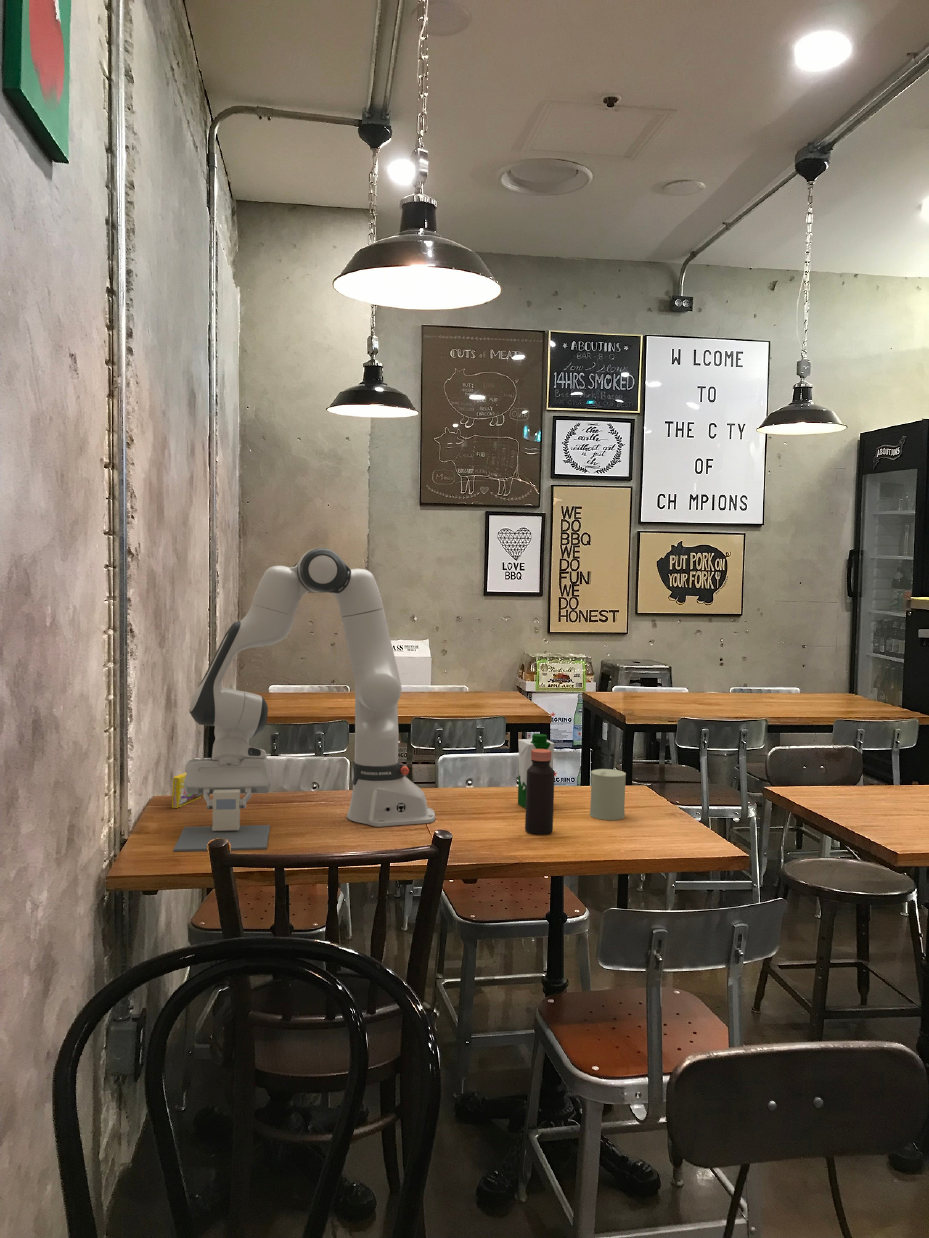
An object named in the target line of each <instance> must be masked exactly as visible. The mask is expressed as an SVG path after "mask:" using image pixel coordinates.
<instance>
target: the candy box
mask: <svg viewBox="0 0 929 1238" xmlns="http://www.w3.org/2000/svg"><path fill="white" fill-rule="evenodd" d="M185 777H186V772H183V773H179V774H178V775H175V776H173V778H172V793H171V807H172V808H171V809H175V808H177V809H179V808H178V807H180V808H182V807H184V806H186V805H188V804H190V803H192V802H194V801H197V800H199V799H202V797H200V796H203V794H187V792H186V791H185V788H184V782H185ZM203 797H204V796H203ZM183 805H184V806H183ZM181 806H182V807H181Z"/></svg>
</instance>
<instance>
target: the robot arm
mask: <svg viewBox="0 0 929 1238" xmlns="http://www.w3.org/2000/svg"><path fill="white" fill-rule="evenodd" d="M308 593H310V594H311V593H312V594H313V593H316V594H323V593H329V594H330V593H331V594H332V595H333V596H334V597H335V599H336V602H337V604H338V608H339V614H340V619H341V623H342V628H343V633H344V638H345V642H346V647H347V651H348V656H349V661H350V665H351V666H350V667H351V671H352V676H353V680H354V684H355V685H354V686H355V687H354V690H355V691H354V723H355V724H354V730H355V731H354V761H353V762H352V767H351V782H352V792H351V798H350V799H351V800H350V803H349V804H350V805H349V808H348V811H347V814H346V818H347V819H348V820H349V821H352V822H355V823H359V824H365V825H368V826H372V827H392V826H404V825H405V826H406V825H407V826H408V825H417V824H418V825H419V824H429V823H430V824H431V823H433V822H434V821H435V820H436V813H435V811H434V809H433V808H431V807H429V806H428V804H427V803H428V802H427V798H426V795H425V793H424V791H423V790H422V789H421V787H419V786H418V785H416V784H415V783H414V782H413V781H411V779H409V778H408V777H406V776H407V775H408V774H409V773H410V769H409V768H408V766H406V765H405V764H404V763H403V762H400V761H399V710H398V709H399V707H398V706H399V705H398V702H399V700H400V699H401V696H402V684H401V683H402V682H401V678H400V673H399V670H398V665H397V662H396V657H395V652H394V649H393V644H392V641H391V637H390V631H389V626H388V622H387V616H386V612H385V608H384V602H383V597H382V595H381V591H380V589H379V587H378V584H377V581H376V578H375V576H374V574H373V573H372V572H371V571H370V570H369V569H368V570H367V569H363V568H350V566H348V565H347V563H346V562H345V561H344V560H343V559H342V558H341V556H340V555H339V554H338V553H336V551H333V550H332V549H330V548H325V547H317V548H312V549H310V550H308V551H307V552H305V553H304V554H303V555H302V556H301V557H300V558H299V560H298V561H297V562H296V563H295V564H294V565H293V566H291V567H290V566H285V565H273V566H270V567H268V568H267V569H266V570H265V572H264V573H263V575H262V577H261V579H260V581H259V583H258V586H257V587H256V590H255V593H254V595H253V597H252V598H253V599H252V602H251V604H250V608H249V609H248V611H247V613H246V614H245V616H244V617H243V618H242V619H241V620H240V621H235V622H233V623H232V624H231V625H230V627H229V628H228V630H227V631H226V633H225V634H224V636H223V638H222V640H221V642H220V644H219V646H218V648H217V650H216V652H215V654H214V656H213V658H212V659H211V662H210V664H209V666H208V668H207V670H206V672H205V674H204V676H203V678H202V679H201V682H200V683H199V685H198V687H197V688H196V690H195V692H194V693H193V695H192V697H191V700H190V702H189V709H188V710H189V714H190V716H191V717H192V718H193V720H194V721H195V722H196V724H198V725H200V726H201V725H202V726H209V727H214V732H213V733H214V737H215V739H214V742H213V744H212V752H211V753H212V754H211V757H204V758H203V757H202V758H201V757H199V758H198V757H194V758H192V759H190V760H188V761H187V762H186V763H185V768H184V771H185V772H186V777H185V782H184V788H185V791H186V792H187V794H203V798H204V800H205V802H206V809H207V810H213V798H210V797H211V795H213V791H214V790H227V789H240V794H244V796H243V797H242V798H240V803H239V808H240V809H246V808H247V803H248V802H249V801H250V799H251V798H252V794H268V793H269V792H270V791H271V790H272V776H271V769H270V765H269V762H268V757H267V752H266V750H264V749H263V748H262V749H261V748H259V747H258V748H257V747H255V746H251V745H250V744H249V742H250V739H251V738H254V737H256V736H257V735H258V734H259V733H261V732H262V731H263V730H264V729H265V727H266V725H267V720H268V713H269V706H268V703H267V701H266V699H265V698H264V697H263V696H262V695H259V694H257V693H254V692H253V693H252V692H249V691H244V690H243V691H242V690H239V689H233V688H229V687H225V686H223V685H222V682H223V680H224V678H225V676H226V674H227V672H228V670H229V668H230V666H231V664H232V662H233V661H234V658H235V657H236V655H237V654H239V653H240V652H242V651H244V650H247V649H250V648H259V647H268V646H272V645H276V644H278V643H280V642H282V641H283V640H286V638H287V637H288V636H289V634H290V633H291V631H292V628H293V626H294V622H295V620H296V615H297V612H298V608H299V605H300V602H301V600H302V598H303V597H304V596H305V595H306V594H308ZM185 772H184V773H185Z"/></svg>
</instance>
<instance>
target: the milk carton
mask: <svg viewBox="0 0 929 1238" xmlns="http://www.w3.org/2000/svg"><path fill="white" fill-rule="evenodd" d="M531 735H532V736H531V738H523V739H522V738H521V739H520V738H519V739H518V740H517V741H518V778H517V779H518V781H517V782H518V784H517V788H518V789H517V805H519V806H521V807H522V808H523V809H525V810H526V782H527V770H528V768H529V767H530V766H531V765H532V761H531V760H532V759H531V750H533V749H547V750H550V751H551V760H550V761H551V762H550V767H551V768H552V769H553V770H554V767H553V766H554V765H553V764H554V753H555V752H554V751H555V742H553V741H551V740H549V739H548V735H547V734H544V733H533V734H531Z"/></svg>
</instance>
